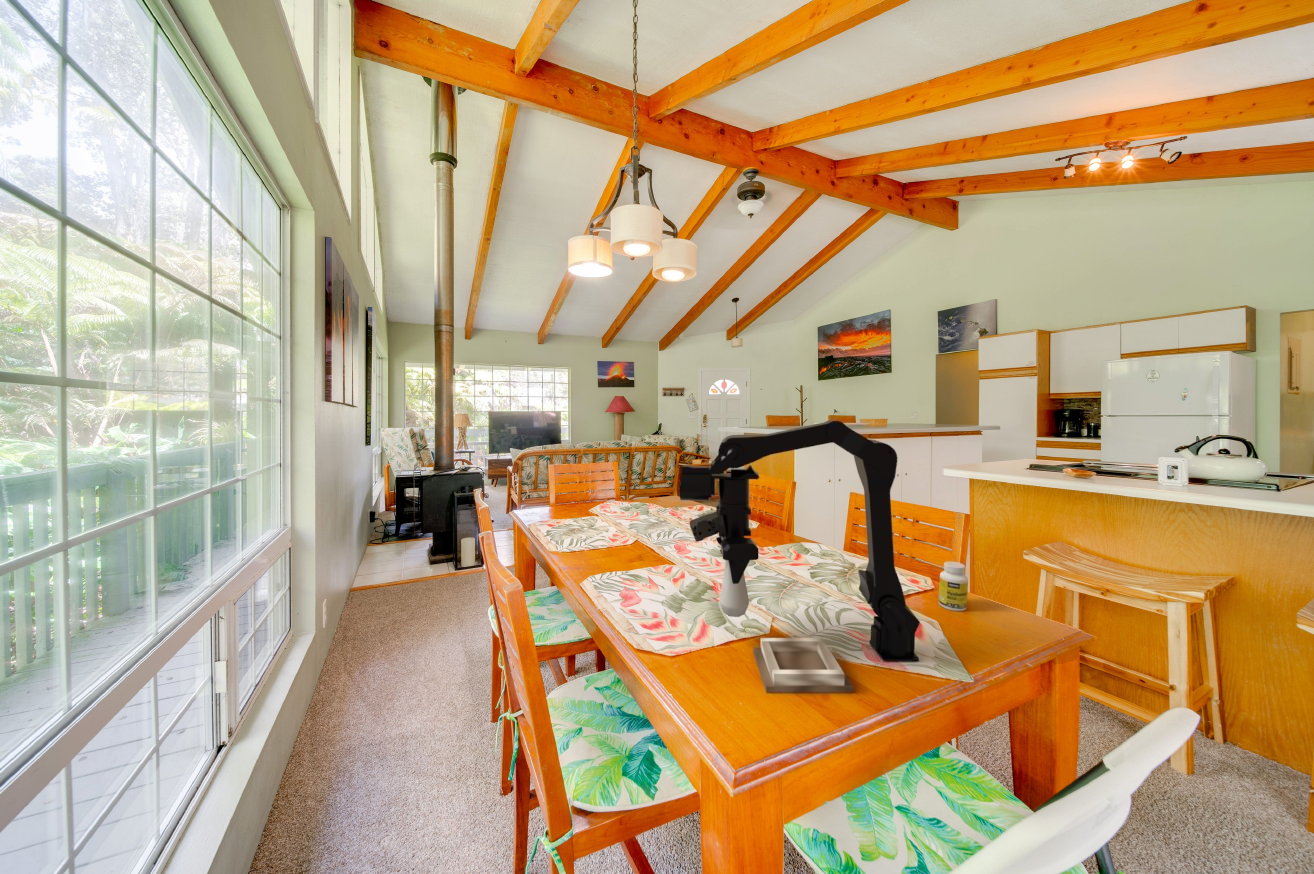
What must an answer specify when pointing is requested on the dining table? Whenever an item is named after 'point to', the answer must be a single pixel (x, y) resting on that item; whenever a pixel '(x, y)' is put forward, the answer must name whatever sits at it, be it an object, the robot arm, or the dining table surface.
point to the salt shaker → (733, 595)
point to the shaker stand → (799, 666)
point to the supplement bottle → (953, 587)
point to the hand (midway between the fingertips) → (734, 579)
